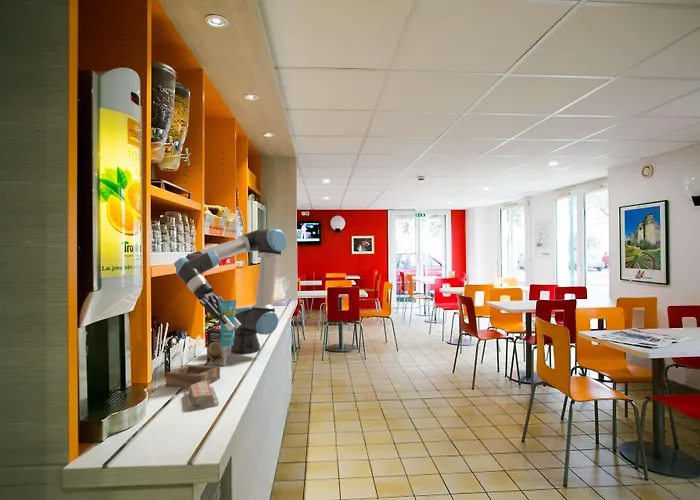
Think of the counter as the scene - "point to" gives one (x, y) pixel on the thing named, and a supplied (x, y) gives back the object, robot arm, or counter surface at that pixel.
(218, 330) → the coffee box
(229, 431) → the counter surface
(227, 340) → the tube
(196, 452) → the counter surface
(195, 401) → the packaged product
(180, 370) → the collar
